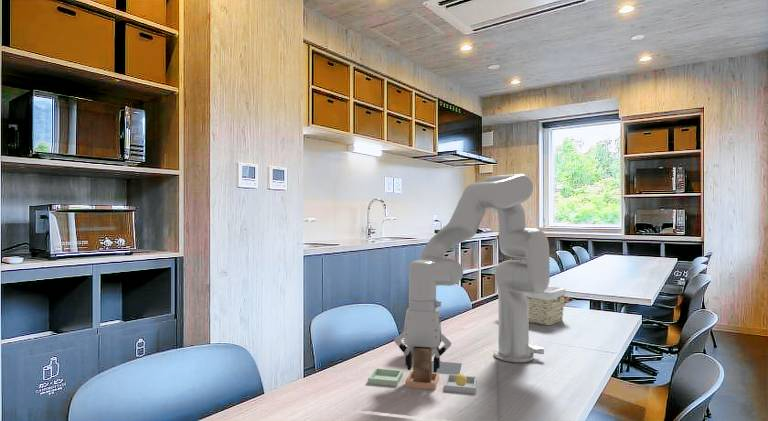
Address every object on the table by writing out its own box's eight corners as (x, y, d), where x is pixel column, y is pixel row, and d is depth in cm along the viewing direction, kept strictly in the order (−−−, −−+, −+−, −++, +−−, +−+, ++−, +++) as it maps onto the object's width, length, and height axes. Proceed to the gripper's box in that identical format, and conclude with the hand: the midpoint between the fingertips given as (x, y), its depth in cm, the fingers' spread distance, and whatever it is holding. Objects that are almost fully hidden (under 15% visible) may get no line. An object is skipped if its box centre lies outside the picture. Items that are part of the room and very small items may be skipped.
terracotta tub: (439, 380, 126) (439, 373, 126) (435, 391, 118) (435, 384, 118) (410, 377, 128) (410, 370, 128) (405, 389, 120) (405, 381, 120)
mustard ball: (467, 384, 122) (467, 372, 122) (466, 388, 119) (466, 376, 119) (455, 383, 123) (455, 371, 123) (454, 387, 120) (454, 375, 120)
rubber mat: (461, 365, 139) (461, 363, 139) (459, 376, 129) (459, 374, 129) (429, 362, 141) (429, 360, 141) (425, 374, 131) (425, 372, 131)
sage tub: (402, 377, 129) (402, 370, 129) (396, 388, 121) (396, 380, 121) (375, 374, 131) (375, 367, 131) (367, 385, 123) (367, 378, 123)
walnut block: (431, 380, 125) (431, 344, 125) (429, 386, 121) (429, 349, 121) (416, 378, 126) (415, 343, 126) (413, 384, 122) (413, 348, 122)
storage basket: (567, 320, 194) (567, 287, 194) (549, 327, 182) (549, 291, 182) (517, 311, 211) (517, 280, 211) (498, 317, 200) (498, 284, 200)
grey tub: (476, 383, 124) (476, 376, 124) (475, 395, 116) (475, 388, 116) (447, 381, 126) (447, 374, 126) (444, 392, 118) (444, 385, 118)
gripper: (455, 303, 125) (455, 367, 125) (394, 301, 129) (394, 362, 129) (452, 309, 118) (452, 377, 118) (388, 306, 122) (389, 371, 122)
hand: (422, 369), depth 123 cm, fingers open, 6 cm apart
